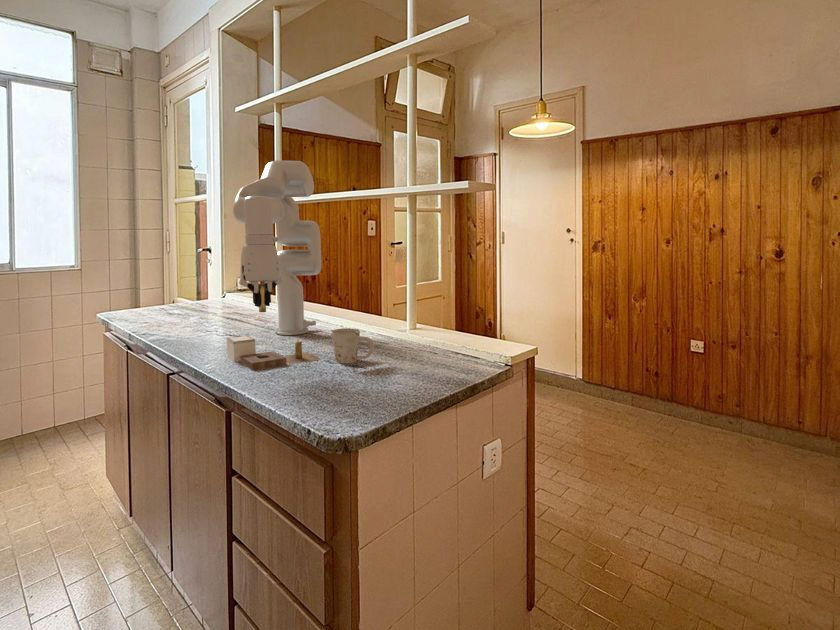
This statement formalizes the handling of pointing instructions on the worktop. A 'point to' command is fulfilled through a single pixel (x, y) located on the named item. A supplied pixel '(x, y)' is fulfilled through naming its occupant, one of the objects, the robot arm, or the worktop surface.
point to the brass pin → (262, 297)
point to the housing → (240, 347)
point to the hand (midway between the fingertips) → (262, 305)
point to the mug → (348, 345)
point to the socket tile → (263, 360)
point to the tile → (304, 358)
